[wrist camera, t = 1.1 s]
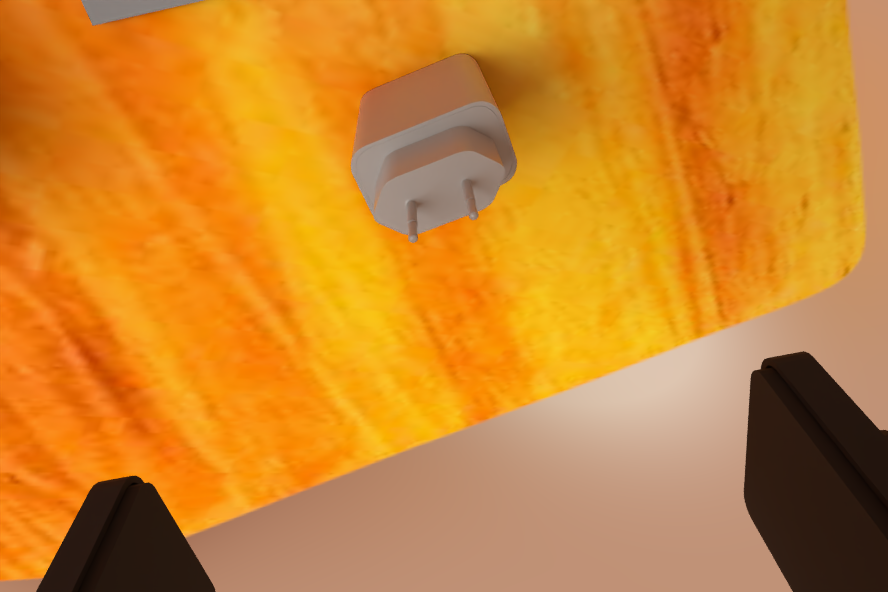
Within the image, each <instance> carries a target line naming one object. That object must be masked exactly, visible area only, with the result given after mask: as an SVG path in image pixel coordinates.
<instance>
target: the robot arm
mask: <svg viewBox="0 0 888 592" xmlns="http://www.w3.org/2000/svg"><path fill="white" fill-rule="evenodd" d="M744 499H745V503H746V507H747V510H748V512H749V515H750V517H751V519H752V520H753V522H754V524H755V526H756V528H757V529H758V531H759V533H760V535H761V536H762V538H763V540H764V542H765V543H766V545H767V547H768V549H769V550H770V552H771V554H772V556H773V557H774V559H775V561H776V563H777V565H778V566H779V568H780V570H781V572H782V573H783V575H784V577H785V579H786V580H787V582H788V584H789V586H790V587H791V589H792V591H793V592H888V431H886V430H879V429H878V428H877V427H876V426H875V425H874V423H873V422H872V421H871V420H870V419H869V418H868V417H867V416H866V415H865V414H864V412H863V411H862V410H861V409H860V408H859V407H858V406H857V405H856V404H855V403H854V401H853V400H852V399H851V398H850V397H849V396H848V395H847V394H846V393H845V392H844V390H843V389H842V388H841V387H840V386H839V385H838V384H837V383H836V382H835V380H834V379H833V378H832V377H831V376H830V375H829V374H828V373H827V372H826V371H825V370H824V368H823V367H822V366H821V365H820V364H819V363H818V362H817V361H816V360H815V358H814V357H813V356H811V355H810V354H809V353H807V352H804V351H803V352H798V353H793V354H787V355H782V356H777V357H772V358H767V359H764V361H763V362H762V365H761V369H760V370H755V371H753V372H752V374H751V383H750V399H749V416H748V433H747V450H746V466H745V482H744ZM36 592H215V588H214V586H213V584H212V582H211V581H210V579H209V577H208V575H207V574H206V572H205V570H204V569H203V567H202V565H201V564H200V562H199V560H198V559H197V557H196V555H195V554H194V552H193V550H192V549H191V547H190V545H189V544H188V542H187V540H186V539H185V537H184V535H183V534H182V532H181V530H180V529H179V527H178V525H177V524H176V522H175V520H174V519H173V517H172V515H171V514H170V512H169V510H168V509H167V507H166V505H165V504H164V502H163V500H162V499H161V497H160V495H159V494H158V492H157V490H156V489H155V487H154V486H153V485H152V484H151V483H144V482H143V481H142V479H141V478H139V477H137V476H129V477H123V478H118V479H112V480H107V481H102V482H98V483H96V484H95V485H94V486H93V487H92V488H91V490H90V491H89V493H88V495H87V497H86V499H85V501H84V503H83V505H82V506H81V508H80V510H79V512H78V514H77V516H76V518H75V520H74V522H73V523H72V525H71V527H70V529H69V531H68V533H67V535H66V537H65V538H64V540H63V542H62V544H61V546H60V548H59V550H58V552H57V553H56V555H55V557H54V559H53V561H52V563H51V565H50V567H49V568H48V570H47V572H46V574H45V576H44V578H43V580H42V582H41V584H40V585H39V587H38V589H37V591H36Z"/></svg>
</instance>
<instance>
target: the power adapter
mask: <svg viewBox="0 0 888 592" xmlns="http://www.w3.org/2000/svg"><path fill="white" fill-rule="evenodd" d="M516 167H517V160H516V156H515V153H514V150H513V147H512V144H511V141H510V138H509V136H508V133H507V130H506V127H505V124H504V121H503V118H502V115H501V113H500V111H499V109H498V106H497V104H496V102H495V100H494V98H493V96H492V93H491V91H490V89H489V87H488V85H487V83H486V81H485V78H484V76H483V74H482V72H481V70H480V68H479V65H478V64H477V62H476V61H475V59H474V58H472V57H471V56H469V55H467V54H457V55H454V56H451V57H449V58H446V59H444V60H441V61H439V62H437V63H434V64H432V65H429V66H427V67H425V68H422V69H420V70H417V71H415V72H413V73H410V74H408V75H405V76H403V77H401V78H398V79H396V80H393V81H391V82H389V83H386V84H384V85H381V86H379V87H377V88H374V89H372V90H370V91H368V92H367V93H366V94H365V95H364V96H363V97H362V99H361V103H360V110H359V116H358V123H357V129H356V135H355V142H354V148H353V155H352V162H351V171H352V174H353V176H354V178H355V180H356V182H357V184H358V186H359V188H360V190H361V192H362V194H363V196H364V198H365V200H366V202H367V204H368V206H369V208H370V210H371V213H372V214H373V216H374V219H375V221H376V222H378V223H379V224H382V225H384V226H386V227H388V228H391V229H393V230H395V231H398V232H400V233H402V234H406V235H408V237H409V241H410V242H412V243H414V242H416V241H417V240H418V235H417V234H419V233H422V232H425V231H427V230H430V229H433V228H435V227H438V226H441V225H443V224H446V223H449V222H451V221H454V220H457V219H459V218H462V217H464V216H467V215H469V218H470V219H472V220H475V219H477V218H478V211H480V210H482V209H484V208H486V207H487V206H488V205H490V204H491V203H492V201H493V200H494V198H495V196H496V194H497V191H498V189H499V187H500V185H502V184H504V183H506V182H507V181H509V180H510V179H511V178H512V177H513V175H514V173H515V171H516Z"/></svg>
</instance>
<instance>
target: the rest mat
mask: <svg viewBox="0 0 888 592" xmlns="http://www.w3.org/2000/svg"><path fill="white" fill-rule="evenodd" d="M81 1H82V3H83V5H84V7H85V9H86V12H87V14H88V16H89V18H90V20H91V23H92V25H98V24H102V23H106V22H111V21H115V20H119V19H124V18H128V17H133V16H137V15H141V14H146V13H150V12H154V11H159V10H163V9H168V8H172V7H176V6H181V5H185V4H190V3H194V2H198V1H203V0H81Z"/></svg>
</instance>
